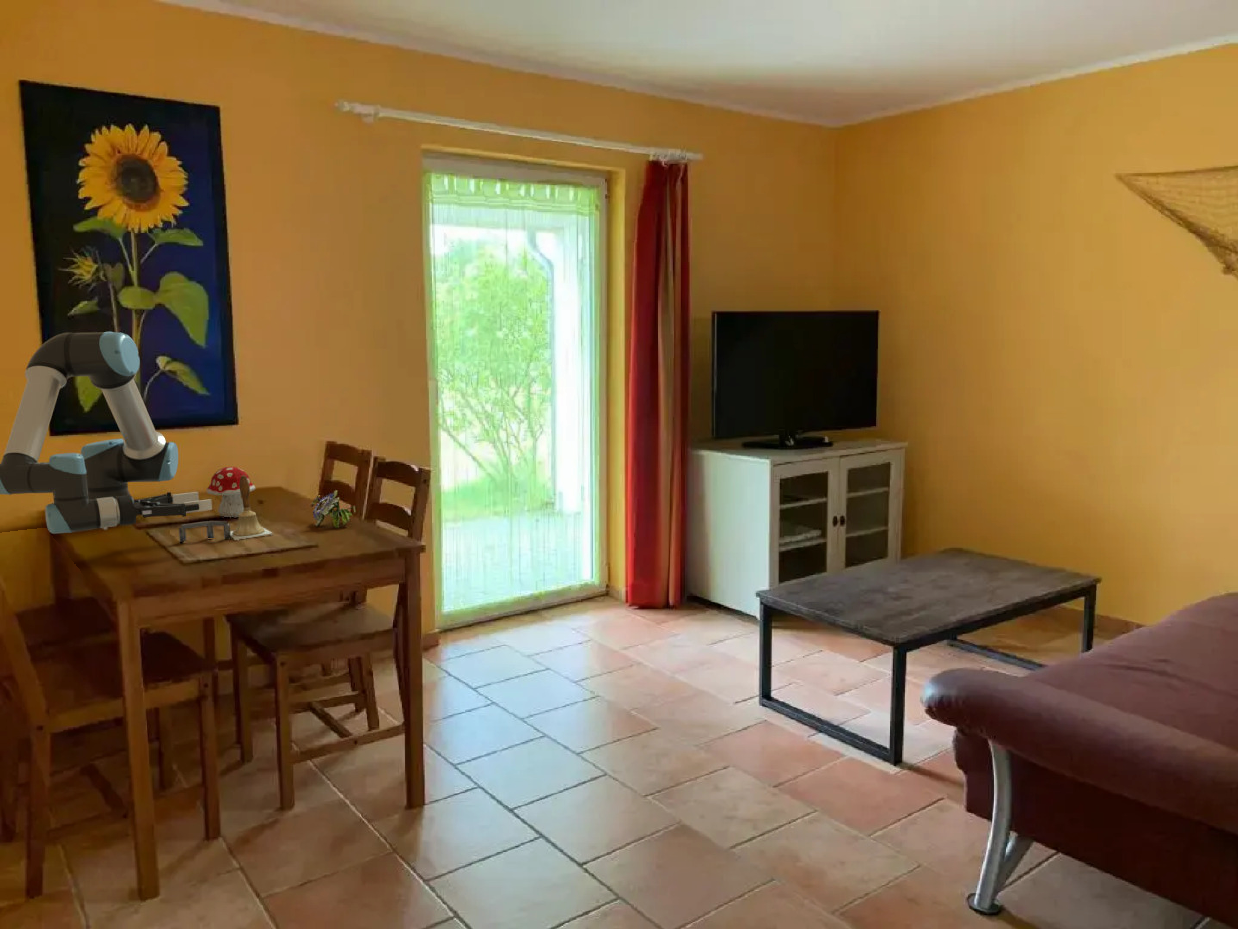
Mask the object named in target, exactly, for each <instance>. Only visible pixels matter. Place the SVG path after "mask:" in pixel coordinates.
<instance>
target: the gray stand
mask: <svg viewBox="0 0 1238 929" xmlns="http://www.w3.org/2000/svg"><path fill="white" fill-rule="evenodd" d="M228 522H229V521H227V520H209V521H208V520H207V521H199V522H192V523H184V524H181V525H180V526H181V527H179V528H178V534H179V535H178V537H179V543H180V542H184V541H186V542H187V534H186V532H187V531H186V529H192V528H199V527H200V528H201V527H206V536H207V539H208V538H215V536H214V535H215V534H214V526H216V527H217V526H218V527H219V526H222V527H223V537H224V538H225V539H229V538H231V534H230V531H231V524H230V523H228ZM225 539H224V540H225ZM231 539H232V538H231ZM229 540H230V539H229Z"/></svg>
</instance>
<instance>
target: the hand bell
mask: <svg viewBox="0 0 1238 929" xmlns="http://www.w3.org/2000/svg"><path fill="white" fill-rule="evenodd" d="M239 487H240V493H241V498H242V500H243V508H244V511H243V512H242V513H240V514H239V517H238V519H237V520H238V521H237V525H236V527H235V529H234V530H232V531H233V535H236V536H251V535H257V534H261V533H263V532H264V531H265V530H264V529H263V528H264V527H263V526H261V524H260V523H259V520H258V518H257V513H256V512H255V511H252V510H251V506H250V498H249V497H250V493H251V491H250V486H249V482H248V480H247V478H246V476H245V475H243V476H241V480H240V484H239ZM262 527H263V528H262Z"/></svg>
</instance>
